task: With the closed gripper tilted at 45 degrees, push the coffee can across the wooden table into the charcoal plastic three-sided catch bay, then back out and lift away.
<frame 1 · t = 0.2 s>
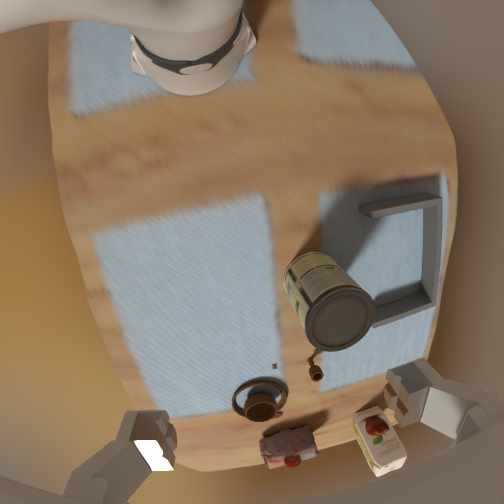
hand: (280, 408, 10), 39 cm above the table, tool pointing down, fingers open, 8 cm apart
catch bay: (394, 256, 53), on the table
coffee can: (311, 277, 53), on the table
juice carton: (364, 414, 70), on the table
food item: (285, 434, 68), on the table
place setting: (275, 390, 62), on the table
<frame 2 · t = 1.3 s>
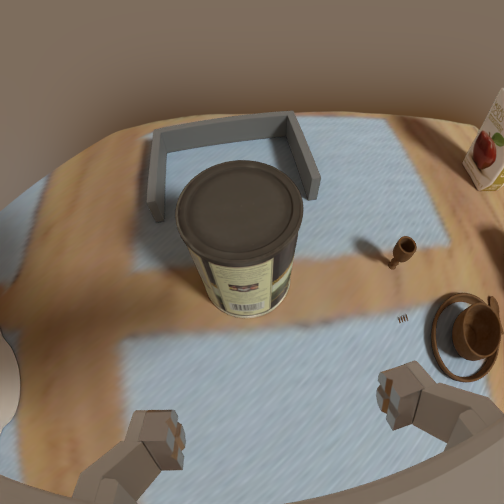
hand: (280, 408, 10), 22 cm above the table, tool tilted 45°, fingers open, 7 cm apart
catch bay: (230, 172, 45), on the table
coffee can: (246, 277, 37), on the table
juice carton: (479, 177, 44), on the table
place setting: (451, 313, 34), on the table
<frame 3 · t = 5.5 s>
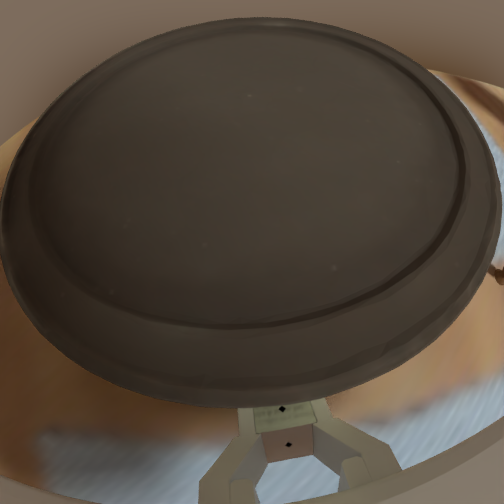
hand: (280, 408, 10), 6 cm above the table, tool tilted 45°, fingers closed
coffee can: (258, 316, 18), on the table, touching gripper
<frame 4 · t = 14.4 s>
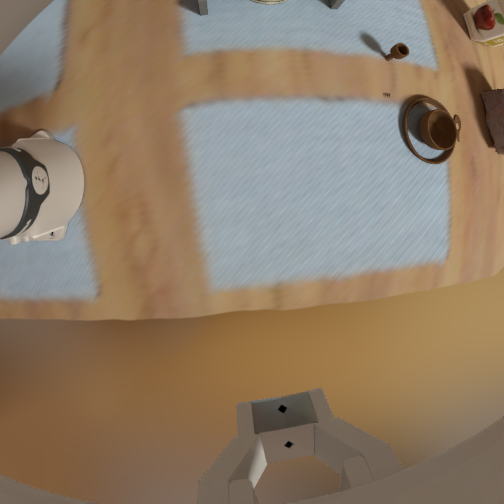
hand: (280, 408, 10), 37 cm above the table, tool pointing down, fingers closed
juice carton: (474, 30, 37), on the table
food item: (493, 121, 44), on the table
place setting: (423, 109, 43), on the table
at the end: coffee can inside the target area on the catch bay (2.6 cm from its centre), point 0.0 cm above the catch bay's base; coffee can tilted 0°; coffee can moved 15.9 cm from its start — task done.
